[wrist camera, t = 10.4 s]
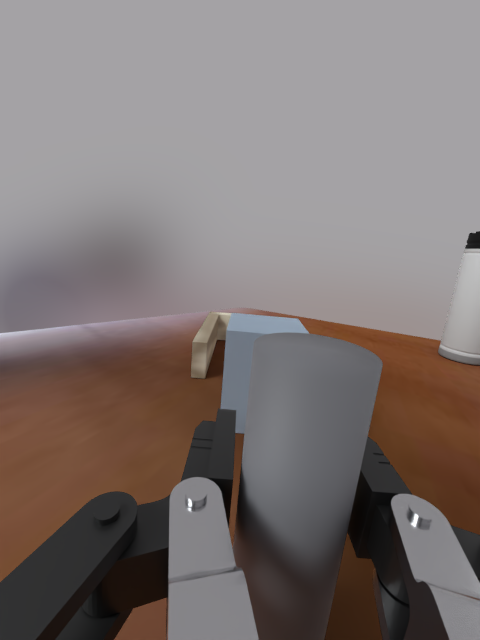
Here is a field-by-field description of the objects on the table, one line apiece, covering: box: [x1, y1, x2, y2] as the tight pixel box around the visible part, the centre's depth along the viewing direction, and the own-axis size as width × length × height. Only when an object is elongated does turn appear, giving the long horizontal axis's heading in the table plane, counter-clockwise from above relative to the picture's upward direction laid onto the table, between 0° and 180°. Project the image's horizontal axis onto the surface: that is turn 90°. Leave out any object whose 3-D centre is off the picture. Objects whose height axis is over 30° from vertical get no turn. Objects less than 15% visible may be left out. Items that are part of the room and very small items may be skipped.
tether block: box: [221, 313, 383, 640], centre depth 17 cm, size 6×20×11 cm, turn 178°
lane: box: [191, 312, 231, 379], centre depth 37 cm, size 13×16×4 cm
